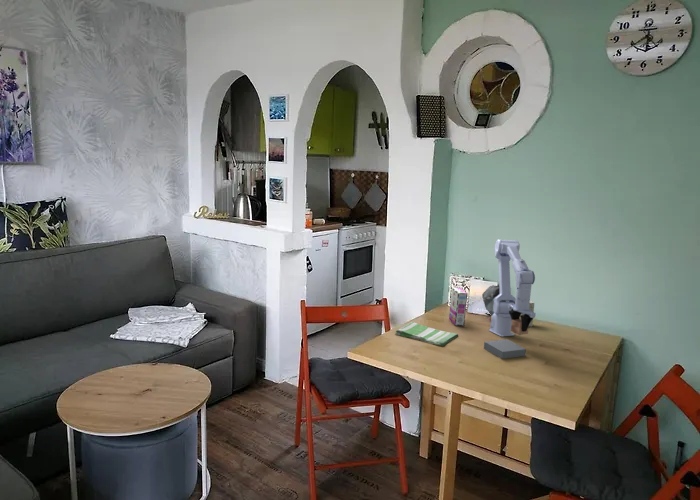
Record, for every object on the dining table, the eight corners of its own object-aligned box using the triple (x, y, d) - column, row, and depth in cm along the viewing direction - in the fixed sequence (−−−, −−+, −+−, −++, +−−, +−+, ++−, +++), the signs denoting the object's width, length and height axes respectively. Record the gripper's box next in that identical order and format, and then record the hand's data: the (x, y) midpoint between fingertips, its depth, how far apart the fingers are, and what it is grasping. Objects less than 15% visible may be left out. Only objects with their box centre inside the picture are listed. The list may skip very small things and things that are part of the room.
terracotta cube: (510, 331, 219) (511, 319, 218) (519, 330, 221) (521, 319, 220) (518, 334, 215) (519, 323, 214) (527, 333, 217) (529, 322, 216)
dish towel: (442, 348, 216) (442, 342, 216) (394, 335, 229) (394, 329, 228) (458, 337, 231) (458, 331, 230) (412, 326, 243) (412, 320, 243)
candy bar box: (465, 326, 246) (468, 293, 243) (454, 325, 245) (457, 293, 242) (458, 319, 257) (461, 287, 254) (448, 318, 256) (451, 287, 253)
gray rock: (473, 318, 258) (476, 284, 255) (486, 312, 270) (490, 279, 267) (499, 325, 249) (503, 289, 246) (512, 319, 261) (516, 285, 258)
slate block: (483, 348, 216) (484, 341, 216) (506, 345, 221) (507, 339, 220) (501, 358, 206) (502, 351, 205) (525, 355, 210) (526, 349, 210)
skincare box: (530, 324, 254) (533, 300, 252) (532, 326, 250) (535, 303, 247) (517, 323, 254) (519, 299, 252) (519, 325, 250) (521, 302, 248)
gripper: (504, 294, 220) (500, 324, 223) (527, 303, 207) (523, 335, 210) (516, 293, 223) (513, 323, 225) (540, 302, 210) (537, 333, 212)
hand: (519, 329), depth 218 cm, fingers closed on terracotta cube, 5 cm apart
